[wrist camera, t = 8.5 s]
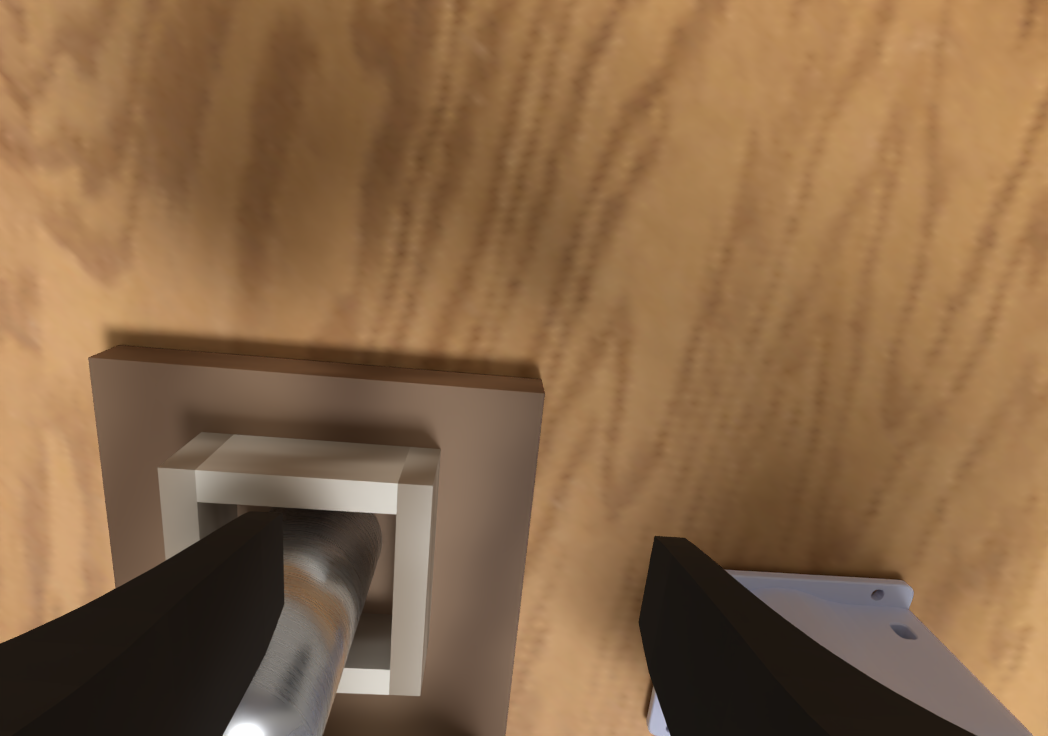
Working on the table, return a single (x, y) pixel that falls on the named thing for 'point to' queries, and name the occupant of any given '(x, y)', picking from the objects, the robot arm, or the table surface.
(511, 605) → the socket stand
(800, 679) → the robot arm
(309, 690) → the steel peg
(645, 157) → the table surface
